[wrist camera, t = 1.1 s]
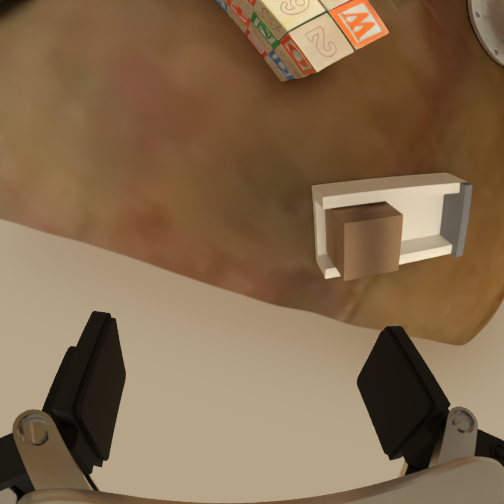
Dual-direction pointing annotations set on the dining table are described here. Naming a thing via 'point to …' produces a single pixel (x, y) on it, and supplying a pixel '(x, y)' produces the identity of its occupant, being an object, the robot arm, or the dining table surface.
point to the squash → (3, 3)
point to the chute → (409, 204)
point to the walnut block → (364, 239)
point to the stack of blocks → (305, 31)
